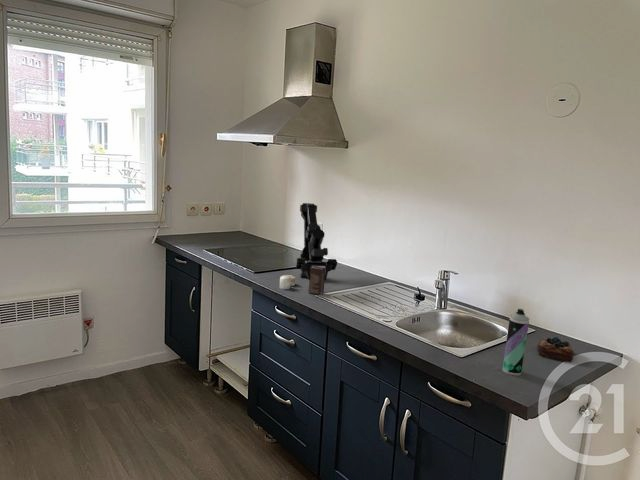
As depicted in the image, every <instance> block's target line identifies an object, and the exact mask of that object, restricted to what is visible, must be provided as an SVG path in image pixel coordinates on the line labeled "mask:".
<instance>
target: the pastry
mask: <svg viewBox="0 0 640 480" xmlns="http://www.w3.org/2000/svg"><path fill="white" fill-rule="evenodd" d="M537 351H538V353H539V354H538V356H540V357H542V358H545V359H550V360H555V361H559V362H560V361H561V362H568V363H572V362H573V359H574V358H573V357H574V353H575V352H574V350H573V348H572V345H571V344H570V343H569V341H565V340H561V339H560V338H559V337H558V336H554V337H553V338H551V337H542V338H541V339H540V341H539V342H538V343H537Z"/></svg>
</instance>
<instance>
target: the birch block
mask: <svg viewBox="0 0 640 480" xmlns="http://www.w3.org/2000/svg"><path fill="white" fill-rule="evenodd" d="M281 276H288V277H291V283H290V287H292V286H295V285H296V277H295V276H294V275H292V274H284V275H281Z"/></svg>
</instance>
